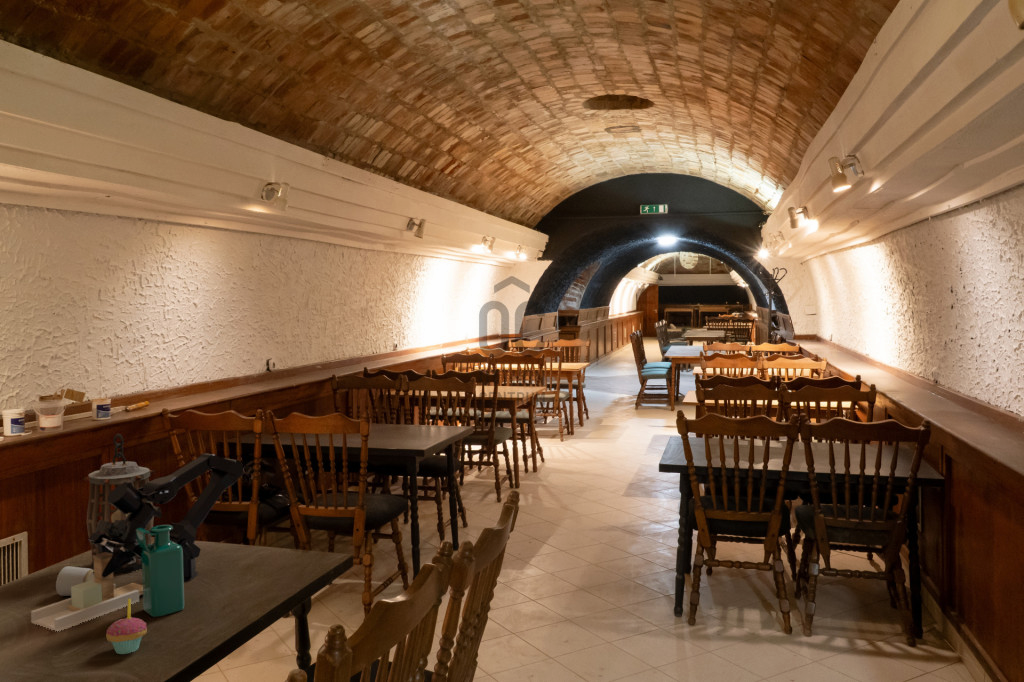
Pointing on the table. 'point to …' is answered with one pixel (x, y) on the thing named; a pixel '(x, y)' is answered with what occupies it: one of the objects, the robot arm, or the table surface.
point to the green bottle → (161, 572)
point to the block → (86, 594)
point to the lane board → (64, 618)
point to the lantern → (106, 477)
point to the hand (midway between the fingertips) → (98, 575)
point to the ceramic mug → (72, 579)
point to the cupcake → (126, 633)
